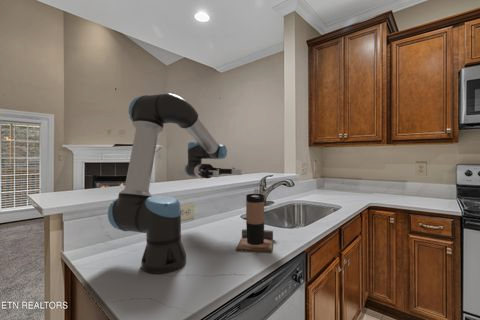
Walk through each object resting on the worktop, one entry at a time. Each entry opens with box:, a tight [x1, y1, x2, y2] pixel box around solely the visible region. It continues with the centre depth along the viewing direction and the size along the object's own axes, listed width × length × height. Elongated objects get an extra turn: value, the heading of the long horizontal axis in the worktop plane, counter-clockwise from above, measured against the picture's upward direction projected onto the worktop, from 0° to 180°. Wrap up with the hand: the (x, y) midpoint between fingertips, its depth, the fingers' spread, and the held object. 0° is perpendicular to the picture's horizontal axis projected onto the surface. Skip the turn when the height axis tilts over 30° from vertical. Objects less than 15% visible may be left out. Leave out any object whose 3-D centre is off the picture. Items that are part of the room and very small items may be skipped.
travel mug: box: [245, 193, 265, 245], centre depth 101 cm, size 8×8×20 cm
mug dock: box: [235, 228, 274, 254], centre depth 101 cm, size 15×14×4 cm
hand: (230, 173), depth 109 cm, fingers open, 13 cm apart
